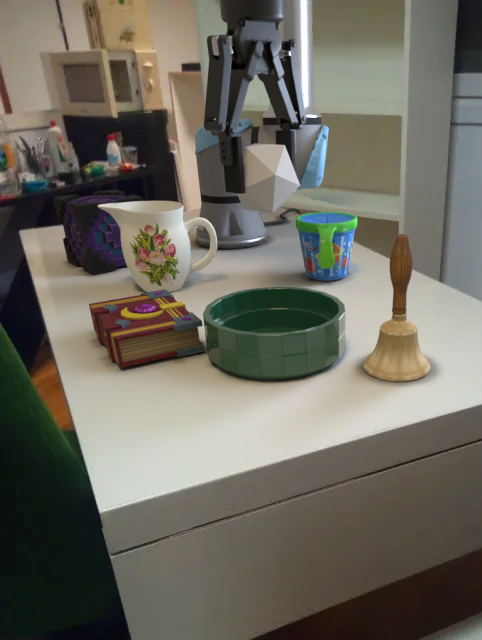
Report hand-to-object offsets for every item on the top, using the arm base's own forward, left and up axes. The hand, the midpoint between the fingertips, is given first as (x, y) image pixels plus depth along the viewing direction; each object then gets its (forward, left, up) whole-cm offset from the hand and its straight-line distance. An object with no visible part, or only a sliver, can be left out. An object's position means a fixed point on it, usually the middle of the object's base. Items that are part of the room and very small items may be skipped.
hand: (262, 187), depth 80 cm
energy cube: (-5, -44, -18) cm, 48 cm away
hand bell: (+5, +25, -18) cm, 31 cm away
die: (0, 0, -3) cm, 3 cm away
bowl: (+10, +10, -18) cm, 23 cm away
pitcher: (-1, -23, -18) cm, 30 cm away
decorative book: (+17, -8, -18) cm, 26 cm away
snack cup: (-21, -4, -18) cm, 28 cm away
